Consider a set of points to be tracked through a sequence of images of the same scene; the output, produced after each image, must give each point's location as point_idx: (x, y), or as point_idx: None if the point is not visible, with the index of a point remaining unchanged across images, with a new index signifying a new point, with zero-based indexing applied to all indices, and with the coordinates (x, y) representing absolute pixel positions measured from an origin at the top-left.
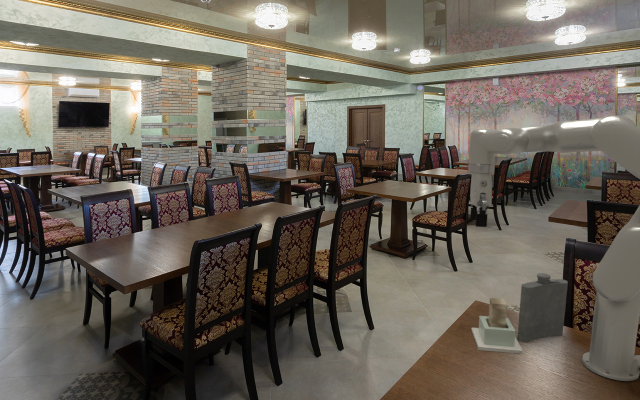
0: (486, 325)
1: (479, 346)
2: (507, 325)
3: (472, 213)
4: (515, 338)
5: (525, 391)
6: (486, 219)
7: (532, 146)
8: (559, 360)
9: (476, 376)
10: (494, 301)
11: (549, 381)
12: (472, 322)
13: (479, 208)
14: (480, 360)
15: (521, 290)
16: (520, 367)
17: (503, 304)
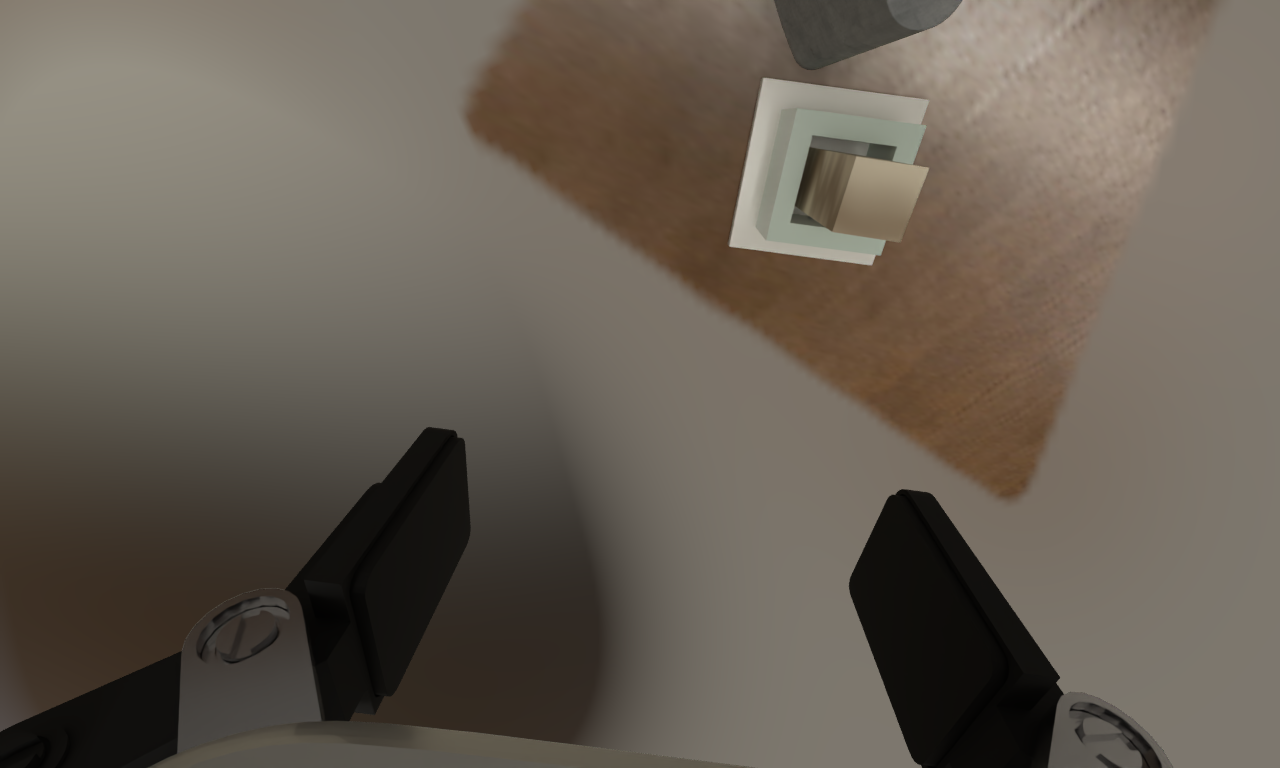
0: (856, 239)
1: (870, 261)
2: (867, 142)
3: (433, 601)
4: (831, 89)
5: (1130, 191)
6: (981, 583)
7: None
8: None
9: (1009, 313)
10: (878, 223)
11: (1114, 73)
12: (662, 219)
13: (355, 604)
14: (930, 275)
15: (897, 36)
16: (1003, 149)
17: (921, 186)
